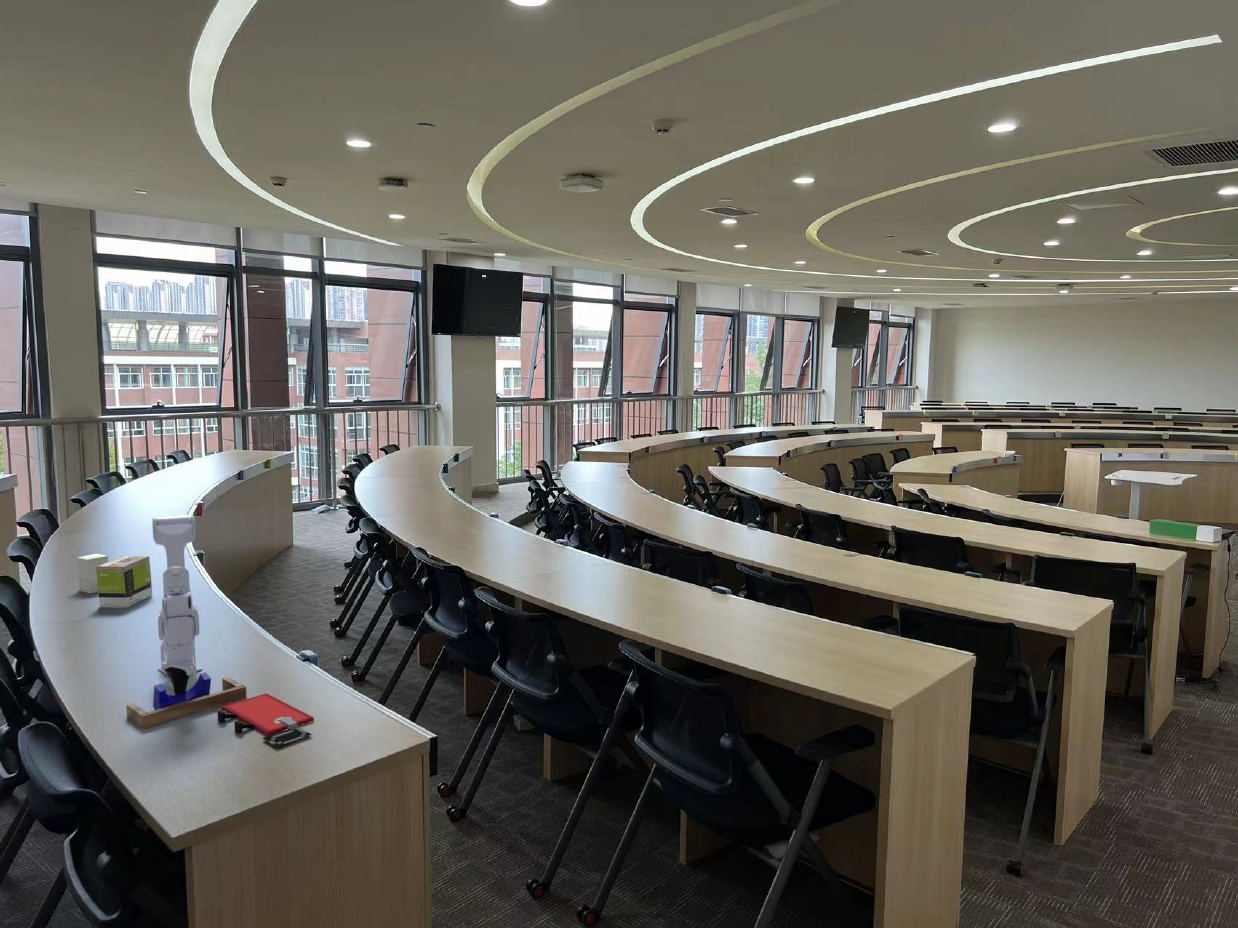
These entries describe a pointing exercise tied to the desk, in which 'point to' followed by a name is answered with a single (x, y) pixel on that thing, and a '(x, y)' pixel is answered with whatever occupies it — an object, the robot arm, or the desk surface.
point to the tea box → (124, 581)
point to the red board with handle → (267, 718)
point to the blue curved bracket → (195, 692)
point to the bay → (188, 705)
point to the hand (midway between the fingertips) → (180, 695)
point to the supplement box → (89, 571)
